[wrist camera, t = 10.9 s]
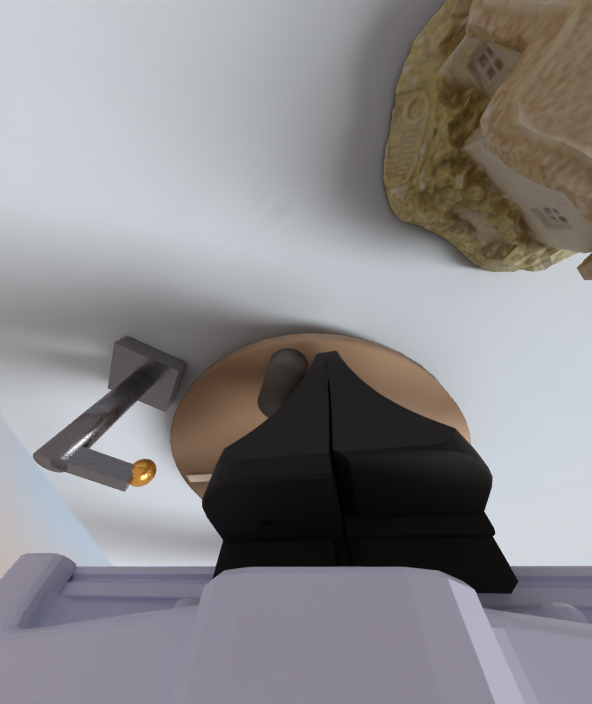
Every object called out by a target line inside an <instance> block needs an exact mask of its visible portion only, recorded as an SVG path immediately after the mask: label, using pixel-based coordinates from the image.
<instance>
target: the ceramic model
mask: <svg viewBox="0 0 592 704" xmlns="http://www.w3.org/2000/svg"><path fill="white" fill-rule="evenodd" d="M395 94H396V98H395V102H394V103H395V107H394V109H393V111H392V116H391V124H390V135H389V138H388V141H387V144H386V148H385V159H384V162H383V164H384V172H383V181H384V184H385V191H386V192H387V199H388V202H389V205H390V207H391V209H392V212H393V213H394V214H395V215H396V216H397V217H398V218H399V219H400V220H401V221H403V222H407V223H412V224H416V225H420V226H423V227H424V228H425V229H426V230H429V231H431V232H432V233H436V234H438V235H439V236H441V237H442V238H444V239H446V240H448V241H449V242H451V244H452V245H454V246H455V247H456V248H457V249H458V250H459V251H460V252H462V253H463V254H464V256H466V257H467V258H468V259H469V260H470V261H471V262H472V263H474V264H475V265H477V266H479V267H481V268H482V269H484V270H486V271H492V272H514V271H517V270H519V269H521V270H527V271H533V272H534V271H540V270H545V269H547V268H548V267H550V266H551V265H553V264H555V263H558V262H560V261H562V260H564V259H566V258H568V257H570V256H572V255H574V254H576V253H578V252H582V253H589V252H592V0H446V1H445V2H444V4H443V5H442V6H441V8H440V9H439V10H438V11H437V12H436V13H435V14H434V15H433V16H432V18H431V19H430V20H429V21H428V23H427V24H426V25H425V27H424V28H423V29H422V31H421V32H420V33H419V35H418V36H417V37H416V39H415V40H414V41H413V44H412V47H411V50H410V52H409V55H408V57H407V59H406V61H405V63H404V65H403V69H402V73H401V75H400V78H399V80H398V83H397V86H396V90H395ZM577 269H578V271H579V272H580V274H581V276H582V277H583V279H584V280H592V254H590V255H589V256H588V257H587V258H586V259H585V260H584V261H583V263H582V264H580V265H579V266H578V267H577Z"/></svg>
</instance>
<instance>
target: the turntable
mask: <svg viewBox="0 0 592 704" xmlns="http://www.w3.org/2000/svg"><path fill="white" fill-rule="evenodd" d="M330 351H337V352H338V353H339V354H340V356H341V358H342V359H343V360H344V362H345V363H346V364H347V365H348V366H349V367H350V368H351V369H352V371H353V372H354V373H355V374H356V375H357V376H358V377H360V378H361V379H362V380H363V381H364V382H365V383H366V384H368V385H369V386H370V387H371V388H373V389H374V390H376V391H377V392H378V393H380V394H381V395H383V396H384V397H386V398H388V399H390V400H391V401H393V402H395V403H397V404H399V405H401V406H402V407H404V408H406V409H409V410H411V411H413V412H415V413H417V414H420V415H422V416H424V417H427V418H429V419H432V420H435V421H437V422H440V423H443V424H445V425H448V426H451V427H453V428H456V429H457V430H458V431H459V432H460V434H461V435H462V436H463V437H464V438H465V439H466V440H467V441H468V442H469V443H470V445H471V441H470V433H469V429H468V426H467V423H466V420H465V418H464V416H463V414H462V412H461V410H460V409H459V407H458V405H457V404H456V402H455V401H454V400H453V399H452V398H451V396H450V395H449V394H448V393H447V391H446V390H445V389H444V388H443V386H442V385H441V384H440V383H439V382H438V380H437V379H436V378H435V377H434V376H433V375H432V374H430V373H429V372H428V371H427V370H426V369H425V368H423V367H422V366H421V365H420V364H418V363H417V362H415V361H413V360H412V359H410V358H409V357H407V356H405V355H404V354H402V353H400V352H397V351H395V350H393V349H391V348H388V347H386V346H384V345H381V344H378V343H375V342H371V341H368V340H364V339H361V338H356V337H350V336H344V335H338V334H322V333H304V334H292V335H284V336H279V337H274V338H269V339H264V340H261V341H258V342H255V343H252V344H249V345H247V346H244V347H241V348H240V349H238V350H236V351H234V352H232V353H230V354H228V355H226V356H224V357H223V358H221V359H220V360H218V361H217V362H216V363H214V364H213V365H211V366H210V367H209V368H208V369H207V370H206V371H205V372H204V373H203V374H202V375H201V376H200V377H199V378H198V379H197V380H196V382H195V383H194V384H193V385H192V387H191V388H190V389H189V391H188V392H187V394H186V395H185V396H184V398H183V399H182V401H181V402H180V404H179V406H178V408H177V410H176V412H175V415H174V417H173V422H172V426H171V439H170V443H171V449H172V454H173V457H174V460H175V463H176V466H177V468H178V470H179V471H180V473H181V475H182V477H183V478H184V480H185V481H186V482H187V484H188V485H189V486H190V488H191V489H192V490H193V491H194V492H195V493H196V494H197V495H198V496H199V497H200V498H201V499H202V498H203V495H204V493H205V491H206V488H207V486H208V483H209V481H210V478H211V476H212V473H213V471H214V468H215V466H216V464H217V462H218V460H219V458H220V456H221V454H222V452H223V450H224V448H226V447H228V446H229V445H231V444H232V443H234V442H236V441H237V440H239V439H240V438H242V437H243V436H245V435H246V434H248V433H249V432H251V431H252V430H254V429H255V428H256V427H258V426H259V425H260V424H262V423H263V422H264V421H265V420H267V419H268V418H269V417H270V416H271V415H272V414H273V413H274V412H276V411H277V410H278V409H279V408H280V407H281V406H282V405H283V404H284V403H285V402H286V401H287V400H288V398H289V397H290V396H291V395H292V394H293V392H294V391H295V390H296V389H297V387H298V386H299V384H300V383H301V381H302V380H303V378H304V377H305V375H306V373H307V372H308V370H309V368H310V366H311V364H312V362H313V360H314V358H315V356H316V354H317V353H323V352H330Z"/></svg>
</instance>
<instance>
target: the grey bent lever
mask: <svg viewBox="0 0 592 704" xmlns="http://www.w3.org/2000/svg"><path fill="white" fill-rule="evenodd" d="M185 366H186V363H185V362H183V361H181V360H179V359H177V358H174V357H172V356H170V355H168V354H165V353H163V352H161V351H159V350H157V349H154V348H152V347H150V346H148V345H146V344H143V343H141V342H139V341H137V340H135V339H132V338H130V337H128V336H126V337H124V338H122V339H120V340H119V341H117V342H115V344H114V351H113V358H112V364H111V371H110V378H109V384H108V389H111V391H110V392H109V393H108V394H106V395H105V396H104V397H103V398H101V399H100V400H99V401H98V402H96V403H95V404H94V405H93V406H92V407H90V408H89V409H88V410H87V411H85V412H84V413H83V414H82V415H80V416H79V417H78V418H77V419H76V420H74V421H73V422H72V423H71V424H69V425H68V426H67V427H66V428H64V429H63V430H62V431H61V432H59V433H58V434H57V435H56V436H55V437H53V438H52V439H51V440H50V441H48V442H47V443H46V444H45V445H43V446H42V447H41V448H40V449H38V450H37V451H36V452H35V453H34V454H33V458H34V460H35V461H36V462H37V463H38V464H39V465H40V466H42V467H44V468H46V469H48V470H50V471H54V472H67V473H70V474H73V475H76V476H79V477H82V478H85V479H88V480H91V481H94V482H97V483H100V484H103V485H106V486H109V487H112V488H115V489H118V490H121V491H124V492H125V491H126V489H127V488H128V486H129V485H132V486H135V487H140V486H144V485H146V484H148V483H149V482H150V481H151V480H152V479H153V478H154V476H155V474H156V465H155V463H154V462H153V461H152V460H150V459H141V460H138V461H136V462H135V463H133V464H131V463H128V462H125V461H122V460H119V459H116V458H114V457H111V456H108V455H105V454H102V453H100V452H97V451H94V450H91V449H89V448H90V447H91V446H92V445H93V444H94V443H95V442H96V441H97V440H98V439H99V438H100V437H101V436H102V435H103V434H104V433H105V432H106V431H107V430H108V429H109V428H110V427H111V426H112V425H113V424H114V423H115V422H116V421H117V420H118V419H119V418H120V417H121V416H122V415H123V414H124V413H125V412H126V411H127V410H128V409H129V408H130V407H131V406H132V405H133V404H134V403H135V402H136V401H137V400H138V401H140V402H143V403H145V404H148V405H150V406H153V407H155V408H157V409H160V410H162V411H166V410H167V409H168V408H169V406H170V405H171V404H172V403H173V400H174V398H175V395H176V392H177V389H178V386H179V383H180V380H181V378H182V375H183V372H184V369H185Z"/></svg>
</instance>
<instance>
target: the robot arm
mask: <svg viewBox="0 0 592 704" xmlns="http://www.w3.org/2000/svg"><path fill="white" fill-rule="evenodd" d="M492 478H493V477H492V475H491V473H490V470H489V468H488V467H487V465H486V464H485V462H484V461H483V460H482V458H481V457H480V456H479V454H478V453H477V452H476V450H475V449H474V448H473V447H472V446H471V445H470V443H469V442H468V441H467V440H466V439H465V438H464V437H463V436H462V435H461V434H460V432H459V431H458V430H457V429H456V428H453V427H451V426H448V425H445V424H443V423H440V422H437V421H435V420H432V419H429V418H427V417H424V416H422V415H420V414H417V413H415V412H413V411H411V410H409V409H406V408H404V407H402V406H401V405H399V404H397V403H395V402H393V401H391V400H390V399H388V398H386V397H384V396H383V395H381V394H380V393H378V392H377V391H376V390H374V389H373V388H371V387H370V386H369V385H368V384H366V383H365V382H364V381H363V380H362V379H361V378H360V377H358V376H357V375H356V374H355V373H354V372H353V371H352V369H351V368H350V367H349V366H348V365H347V364H346V363H345V362H344V360H343V359H342V358H341V356H340V354H339V353H338V352H337V351H330V352H323V353H317V354H316V356H315V358H314V360H313V362H312V364H311V366H310V368H309V370H308V372H307V373H306V375H305V377H304V378H303V380H302V381H301V383H300V384H299V386H298V387H297V389H296V390H295V391H294V392H293V394H292V395H291V396H290V397H289V398H288V400H287V401H286V402H285V403H284V404H283V405H282V406H281V407H280V408H279V409H278V410H277V411H276V412H274V413H273V414H272V415H271V416H270V417H269V418H268V419H267V420H265V421H264V422H263V423H262V424H260V425H259V426H258V427H256V428H255V429H254V430H252V431H251V432H249V433H248V434H246V435H245V436H243V437H242V438H240V439H239V440H237V441H236V442H234V443H232V444H231V445H229V446H228V447H226V448H224V450H223V452H222V454H221V456H220V458H219V460H218V462H217V464H216V466H215V468H214V471H213V473H212V476H211V478H210V481H209V483H208V486H207V488H206V491H205V493H204V495H203V498H202V507H203V509H204V512H205V514H206V516H207V518H208V519H209V521H210V522H211V523H212V525H213V526H214V528H215V529H216V531H217V532H218V533H219V535H220V536H221V538H222V539H223V543H222V547H221V550H220V554H219V557H218V561H217V564H216V567H76V564H75V563H74V562H73V561H72V560H70V559H69V558H67V557H65V556H62V555H59V554H53V553H34V554H24V555H22V556H21V557H20V558H19V559H18V560H17V561H16V562H15V564H14V565H13V566H12V567H11V568H10V569H9V570H8V571H7V572H6V574H5V575H4V576H3V577H2V578H1V579H0V704H592V566H510V565H509V564H508V562H507V560H506V559H505V557H504V555H503V553H502V552H501V550H500V548H499V546H498V545H497V543H496V541H495V540H494V538H493V536H494V535H495V530H494V527H493V526H492V524H491V522H490V521H489V519H488V517H487V516H486V514H485V512H484V510H485V507H486V504H487V501H488V498H489V494H490V491H491V488H492Z"/></svg>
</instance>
